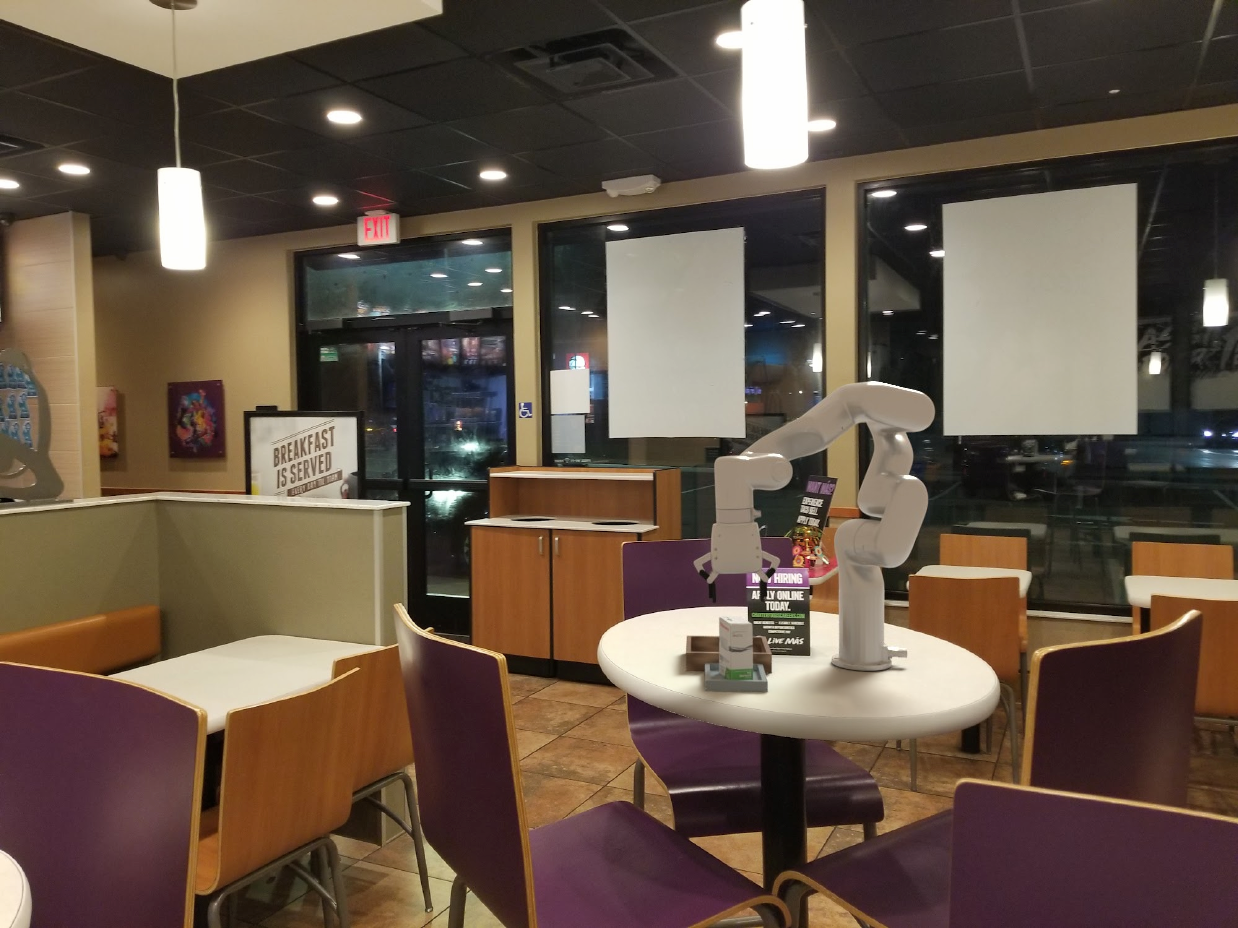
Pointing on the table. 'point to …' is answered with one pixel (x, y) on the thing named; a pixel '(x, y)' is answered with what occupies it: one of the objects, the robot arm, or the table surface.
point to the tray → (720, 683)
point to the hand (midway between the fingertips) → (738, 601)
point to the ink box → (735, 648)
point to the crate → (708, 652)
